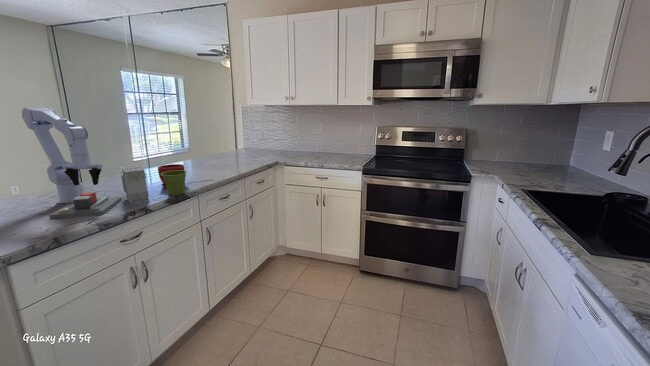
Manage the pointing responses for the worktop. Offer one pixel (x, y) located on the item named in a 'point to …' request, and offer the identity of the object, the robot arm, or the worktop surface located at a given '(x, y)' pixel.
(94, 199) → the red rectangular block
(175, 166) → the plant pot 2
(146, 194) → the circuit breaker
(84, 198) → the breaker handle
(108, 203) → the breaker panel
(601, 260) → the worktop surface
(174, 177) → the plant pot
